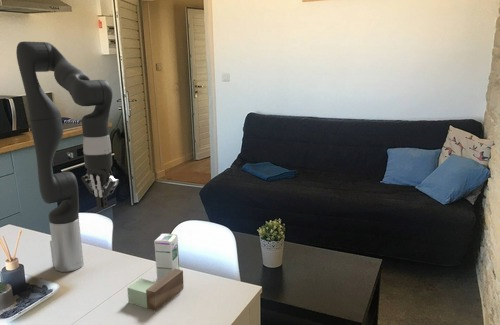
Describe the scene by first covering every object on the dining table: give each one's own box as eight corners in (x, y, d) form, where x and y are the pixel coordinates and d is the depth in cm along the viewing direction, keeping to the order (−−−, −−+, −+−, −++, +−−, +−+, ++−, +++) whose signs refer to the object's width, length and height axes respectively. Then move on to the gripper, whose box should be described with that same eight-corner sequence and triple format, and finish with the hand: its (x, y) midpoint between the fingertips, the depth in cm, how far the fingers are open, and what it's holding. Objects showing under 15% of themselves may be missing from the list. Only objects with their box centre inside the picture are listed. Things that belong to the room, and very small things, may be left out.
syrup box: (173, 283, 137) (171, 241, 133) (156, 281, 138) (154, 240, 134) (180, 274, 142) (178, 234, 139) (163, 273, 143) (161, 232, 140)
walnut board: (147, 308, 123) (146, 289, 122) (175, 285, 135) (174, 268, 134) (155, 311, 122) (154, 292, 120) (183, 287, 134) (182, 270, 133)
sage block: (128, 302, 126) (127, 287, 125) (142, 292, 132) (141, 278, 130) (147, 308, 123) (146, 293, 122) (160, 298, 129) (159, 283, 127)
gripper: (70, 151, 122) (76, 208, 126) (105, 155, 116) (110, 215, 120) (90, 146, 128) (95, 201, 132) (124, 150, 123) (128, 207, 127)
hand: (102, 208), depth 126 cm, fingers closed
